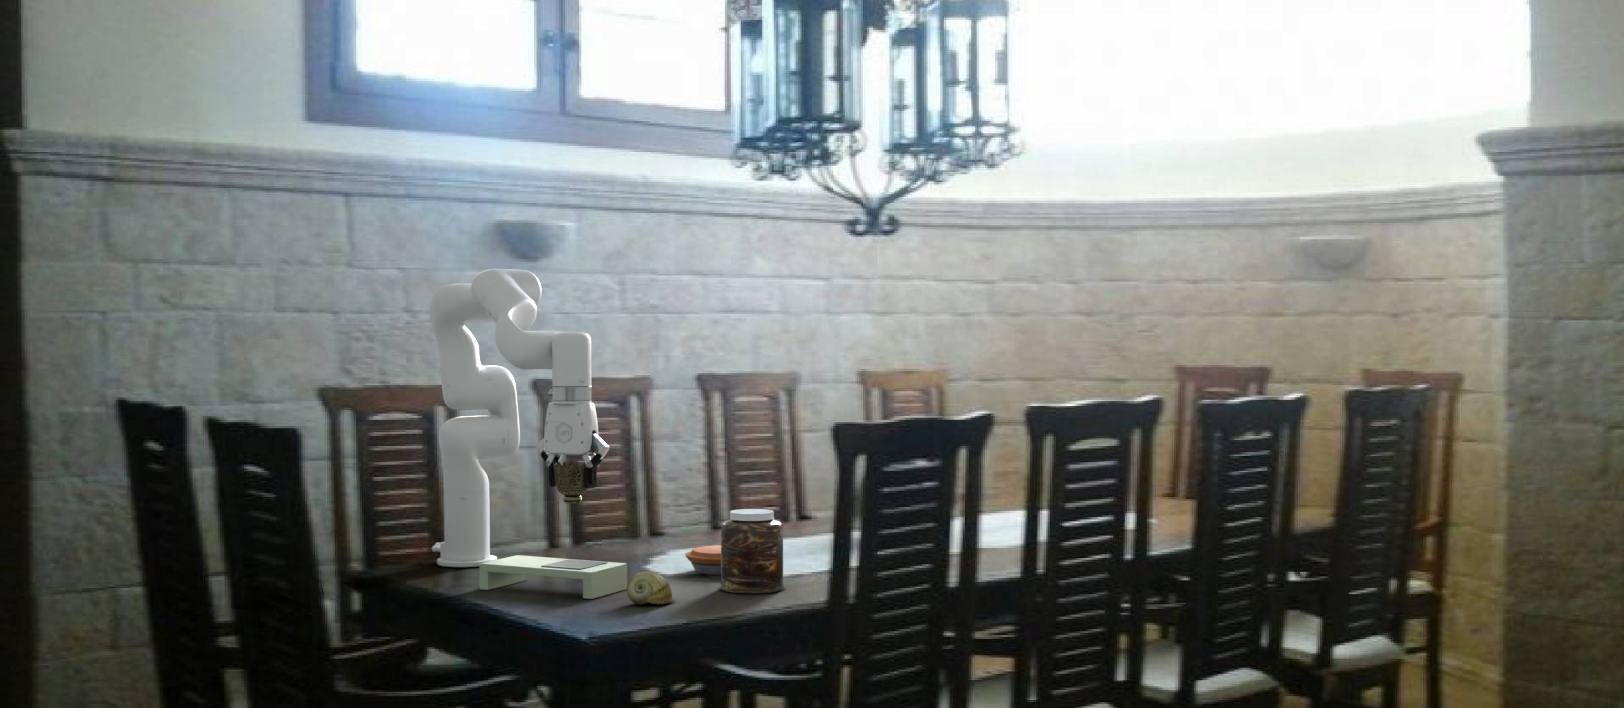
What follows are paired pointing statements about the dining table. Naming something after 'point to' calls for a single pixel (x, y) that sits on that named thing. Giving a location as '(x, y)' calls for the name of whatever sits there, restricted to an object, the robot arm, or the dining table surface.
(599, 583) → the shelf
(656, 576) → the seashell
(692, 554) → the pie
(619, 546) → the dining table surface
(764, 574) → the jar
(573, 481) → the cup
